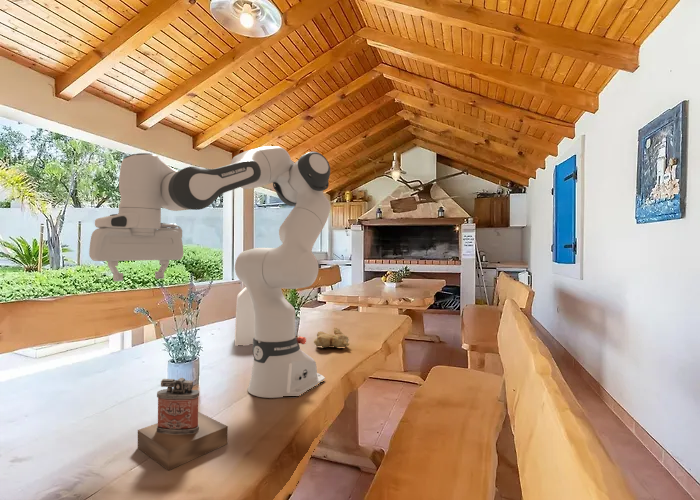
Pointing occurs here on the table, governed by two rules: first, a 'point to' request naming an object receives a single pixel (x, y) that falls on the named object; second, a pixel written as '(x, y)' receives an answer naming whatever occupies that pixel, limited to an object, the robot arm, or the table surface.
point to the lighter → (177, 407)
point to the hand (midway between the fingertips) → (139, 279)
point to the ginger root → (331, 339)
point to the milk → (244, 319)
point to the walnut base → (182, 442)
